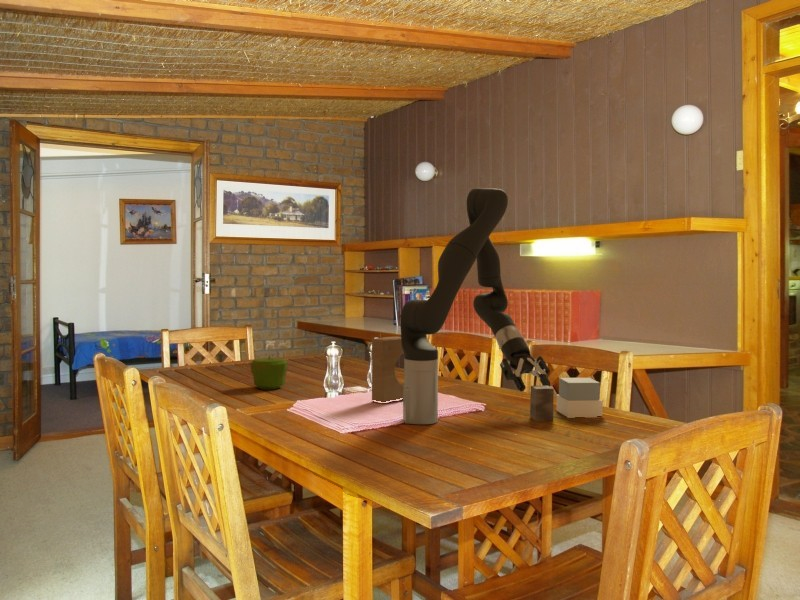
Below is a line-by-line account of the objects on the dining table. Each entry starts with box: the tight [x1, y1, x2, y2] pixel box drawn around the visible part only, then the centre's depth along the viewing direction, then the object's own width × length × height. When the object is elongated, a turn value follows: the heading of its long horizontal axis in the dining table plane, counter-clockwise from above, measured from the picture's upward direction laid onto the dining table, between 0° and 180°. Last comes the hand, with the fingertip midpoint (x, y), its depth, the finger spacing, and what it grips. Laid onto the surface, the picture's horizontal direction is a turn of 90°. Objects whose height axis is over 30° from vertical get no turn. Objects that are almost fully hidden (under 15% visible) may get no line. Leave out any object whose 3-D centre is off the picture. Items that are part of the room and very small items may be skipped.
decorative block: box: [371, 335, 404, 402], centre depth 214 cm, size 11×6×20 cm, turn 135°
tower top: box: [558, 377, 601, 400], centre depth 196 cm, size 9×9×5 cm
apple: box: [250, 356, 288, 391], centre depth 237 cm, size 12×12×11 cm
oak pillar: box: [529, 385, 555, 422], centre depth 188 cm, size 5×5×9 cm
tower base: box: [556, 394, 603, 419], centre depth 196 cm, size 10×10×5 cm
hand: (535, 388), depth 191 cm, fingers open, 8 cm apart
